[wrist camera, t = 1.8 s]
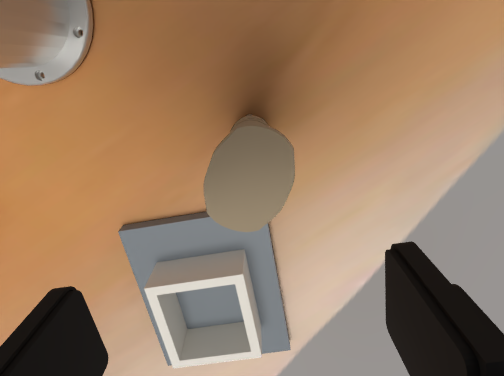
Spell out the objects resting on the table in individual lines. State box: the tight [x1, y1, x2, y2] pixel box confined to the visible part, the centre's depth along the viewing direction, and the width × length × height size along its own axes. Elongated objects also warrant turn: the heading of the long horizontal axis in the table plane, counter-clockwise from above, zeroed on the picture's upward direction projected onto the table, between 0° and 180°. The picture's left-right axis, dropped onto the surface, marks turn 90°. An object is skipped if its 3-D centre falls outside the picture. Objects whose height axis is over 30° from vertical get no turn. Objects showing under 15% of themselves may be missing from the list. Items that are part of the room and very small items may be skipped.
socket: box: [118, 212, 290, 368], centre depth 37 cm, size 20×16×6 cm
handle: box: [204, 114, 295, 232], centre depth 25 cm, size 5×6×15 cm
